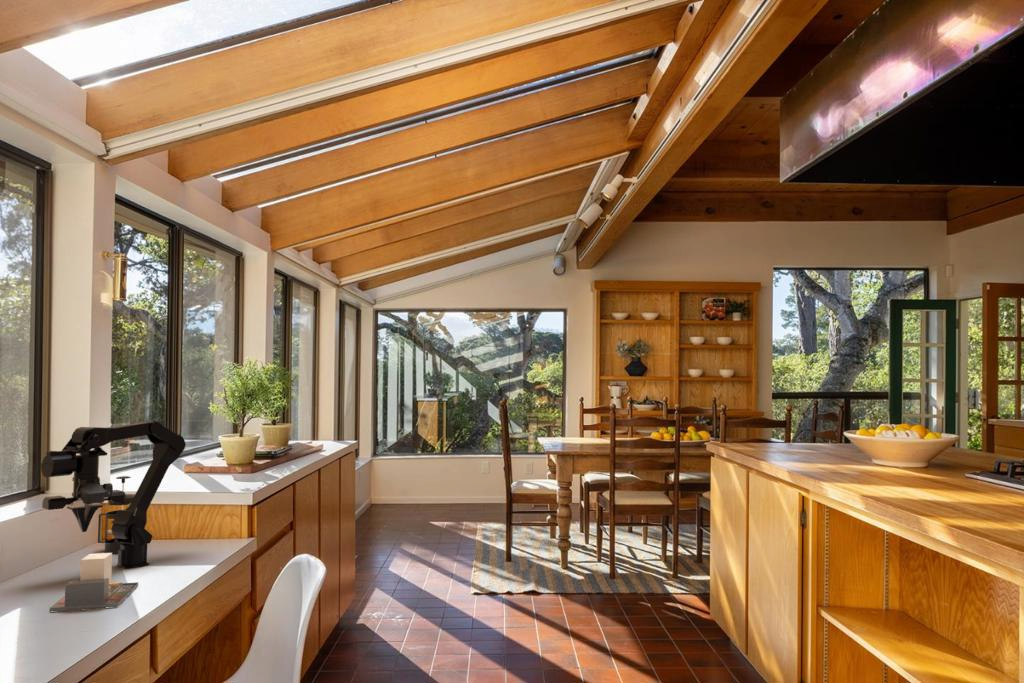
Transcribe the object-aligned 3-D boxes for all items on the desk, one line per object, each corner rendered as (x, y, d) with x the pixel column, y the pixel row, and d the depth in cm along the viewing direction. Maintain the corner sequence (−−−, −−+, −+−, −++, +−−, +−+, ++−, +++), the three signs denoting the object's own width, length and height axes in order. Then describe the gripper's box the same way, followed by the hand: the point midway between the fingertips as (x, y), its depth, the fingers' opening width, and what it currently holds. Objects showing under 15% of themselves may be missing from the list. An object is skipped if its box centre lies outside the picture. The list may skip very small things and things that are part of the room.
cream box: (76, 592, 171) (78, 554, 172) (122, 589, 174) (123, 552, 174) (67, 599, 166) (69, 560, 166) (114, 596, 168) (116, 557, 169)
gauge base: (76, 590, 177) (77, 566, 178) (138, 586, 181) (138, 562, 181) (49, 612, 160) (50, 585, 160) (117, 607, 164) (118, 581, 164)
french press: (143, 546, 226) (145, 474, 227) (136, 553, 217) (138, 477, 218) (102, 548, 223) (105, 475, 224) (93, 555, 214) (96, 479, 215)
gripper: (56, 479, 179) (53, 541, 178) (134, 472, 193) (132, 530, 192) (42, 475, 187) (40, 535, 186) (118, 469, 201) (117, 525, 200)
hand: (84, 531), depth 191 cm, fingers closed
